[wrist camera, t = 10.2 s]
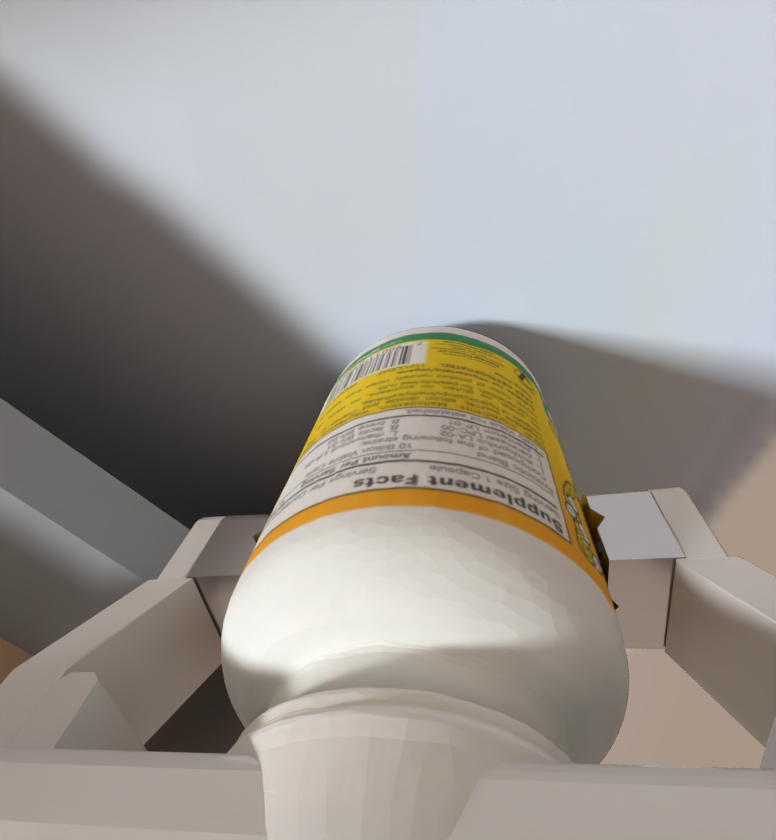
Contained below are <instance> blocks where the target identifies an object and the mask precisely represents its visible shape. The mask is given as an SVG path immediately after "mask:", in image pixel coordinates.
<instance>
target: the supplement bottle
mask: <svg viewBox="0 0 776 840" xmlns="http://www.w3.org/2000/svg"><path fill="white" fill-rule="evenodd" d="M221 663H222V669H223V675H224V681H225V685H226V688H227V692H228V695H229V698H230V700H231V703H232V705H233V708H234V710H235V712H236V714H237V716H238V717H239V719H240V721H241V722H242V724H243V726H244V727H245V730H244V731H243V732H242V734H241V735H240V737H239V739H238V740H237V742H236V743H235V744H234V746H233V747H232V748H231V749H230V750H229V751H228V753H227V754H246V755H249V756H252V757H254V758H255V759H256V760H257V761H258V762H259V763H260V765H261V769H262V775H263V789H264V802H265V825H266V830H267V834H268V838H267V840H447V839H448V838H449V836H450V835H451V833H452V831H453V830H454V828H455V826H456V824H457V822H458V820H459V818H460V816H461V814H462V812H463V810H464V808H465V806H466V804H467V802H468V800H469V798H470V795H471V793H472V791H473V789H474V787H475V785H476V783H477V781H478V779H479V778H480V777H481V776H482V775H483V774H484V773H485V772H486V770H488V769H491V768H493V767H496V766H498V765H500V764H503V763H509V762H533V763H571V764H600V763H601V761H602V760H603V759H604V758H605V756H606V755H607V753H608V752H609V750H610V749H611V747H612V745H613V744H614V741H615V739H616V737H617V735H618V733H619V731H620V728H621V725H622V722H623V719H624V715H625V711H626V706H627V701H628V690H629V670H628V660H627V655H626V650H625V646H624V641H623V636H622V632H621V629H620V625H619V622H618V619H617V615H616V612H615V609H614V606H613V602H612V599H611V596H610V593H609V590H608V586H607V583H606V580H605V577H604V574H603V571H602V568H601V565H600V562H599V558H598V555H597V552H596V549H595V546H594V543H593V541H592V537H591V534H590V531H589V528H588V525H587V522H586V519H585V516H584V513H583V510H582V507H581V503H580V500H579V497H578V494H577V492H576V489H575V486H574V483H573V480H572V477H571V475H570V472H569V469H568V466H567V462H566V459H565V457H564V454H563V450H562V447H561V445H560V441H559V438H558V434H557V431H556V428H555V425H554V422H553V419H552V417H551V414H550V411H549V409H548V406H547V404H546V402H545V399H544V397H543V394H542V392H541V389H540V387H539V385H538V383H537V381H536V379H535V378H534V376H533V374H532V373H531V371H530V370H529V369H528V367H527V366H526V365H525V364H524V362H523V361H522V360H521V359H520V358H518V357H517V356H516V355H515V354H514V353H513V352H512V351H510V350H509V349H508V348H506V347H505V346H503V345H501V344H500V343H498V342H496V341H494V340H492V339H490V338H488V337H486V336H483V335H481V334H478V333H475V332H471V331H467V330H463V329H459V328H453V327H441V326H434V327H422V328H414V329H409V330H405V331H402V332H398V333H395V334H392V335H389V336H387V337H385V338H383V339H381V340H379V341H377V342H376V343H374V344H372V345H370V346H369V347H368V348H366V349H365V350H364V351H362V352H361V353H360V354H359V355H357V356H356V357H355V358H354V359H353V360H352V361H351V362H350V363H349V365H348V366H347V367H346V368H345V370H344V371H343V372H342V374H341V375H340V376H339V378H338V380H337V381H336V383H335V385H334V387H333V388H332V390H331V392H330V394H329V396H328V398H327V399H326V401H325V404H324V406H323V409H322V411H321V413H320V415H319V417H318V419H317V421H316V423H315V425H314V427H313V429H312V432H311V434H310V436H309V438H308V440H307V442H306V444H305V446H304V448H303V450H302V452H301V454H300V457H299V459H298V461H297V463H296V465H295V467H294V469H293V471H292V473H291V475H290V477H289V479H288V481H287V483H286V485H285V487H284V489H283V491H282V493H281V495H280V497H279V499H278V501H277V503H276V505H275V507H274V509H273V511H272V513H271V515H270V517H269V519H268V521H267V523H266V525H265V527H264V529H263V531H262V533H261V535H260V537H259V539H258V541H257V543H256V545H255V547H254V549H253V551H252V553H251V555H250V558H249V560H248V562H247V564H246V566H245V568H244V570H243V572H242V574H241V576H240V578H239V581H238V583H237V585H236V587H235V590H234V592H233V594H232V596H231V598H230V601H229V605H228V608H227V612H226V615H225V618H224V623H223V629H222V636H221Z"/></svg>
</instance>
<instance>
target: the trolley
mask: <svg viewBox="0 0 776 840" xmlns="http://www.w3.org/2000/svg"><path fill="white" fill-rule="evenodd" d="M189 532H190V529H188V528H187V527H185V526H184V525H182V524H181V523H180V522H178V521H177V520H175V519H174V518H172V517H171V516H169V515H168V514H167V513H165V512H164V511H162V510H161V509H159V508H158V507H156V506H155V505H154V504H152V503H151V502H149V501H148V500H146V499H145V498H144V497H142V496H141V495H139V494H138V493H136V492H135V491H133V490H132V489H131V488H129V487H128V486H126V485H125V484H123V483H122V482H121V481H119V480H118V479H116V478H115V477H113V476H112V475H110V474H109V473H108V472H106V471H105V470H103V469H102V468H100V467H99V466H97V465H96V464H95V463H93V462H92V461H90V460H89V459H87V458H86V457H85V456H83V455H82V454H80V453H79V452H77V451H76V450H74V449H73V448H72V447H70V446H69V445H67V444H66V443H64V442H63V441H62V440H60V439H59V438H57V437H56V436H54V435H53V434H51V433H50V432H49V431H47V430H46V429H44V428H43V427H41V426H40V425H38V424H37V423H36V422H34V421H33V420H31V419H30V418H28V417H27V416H26V415H24V414H23V413H21V412H20V411H18V410H17V409H15V408H14V407H13V406H11V405H10V404H8V403H7V402H5V401H4V400H2V399H1V398H0V685H1V684H2V682H3V681H4V680H5V679H6V678H7V676H8V675H9V674H10V673H11V672H12V670H13V669H15V668H16V667H18V666H20V665H21V664H23V663H24V662H26V661H27V660H29V659H30V658H32V657H33V656H35V655H36V654H38V653H39V652H41V651H42V650H44V649H45V648H47V647H48V646H50V645H51V644H53V643H54V642H56V641H57V640H59V639H60V638H62V637H63V636H65V635H66V634H68V633H69V632H71V631H72V630H74V629H75V628H77V627H79V626H80V625H82V624H83V623H85V622H86V621H88V620H89V619H91V618H92V617H94V616H95V615H97V614H98V613H100V612H101V611H103V610H104V609H106V608H107V607H109V606H110V605H112V604H113V603H115V602H116V601H118V600H119V599H121V598H122V597H124V596H125V595H127V594H128V593H130V592H131V591H133V590H134V589H136V588H137V587H139V586H141V585H142V584H144V583H145V582H147V581H148V580H156V579H158V577H159V576H160V574H161V573H162V571H163V570H164V568H165V567H166V565H167V564H168V562H169V561H170V560H171V558H172V557H173V555H174V554H175V552H176V551H177V549H178V548H179V546H180V545H181V543H182V542H183V541H184V539H185V538H186V536H187V535H188V533H189ZM244 730H245V727H244V726H243V724H242V722H241V721H240V719H239V717H238V716H237V714H236V712H235V710H234V708H233V705H232V703H231V700H230V698H229V695H228V692H227V688H226V685H225V681H224V675H223V669H222V663H221V665H220V666H219V667H218V668H217V669H216V670H215V671H214V672H213V673H212V674H211V675H210V676H209V677H208V678H207V679H206V680H205V681H204V682H203V683H202V684H201V685H200V687H199V688H198V689H197V690H196V691H195V692H194V693H193V694H192V695H191V696H190V697H189V698H188V699H187V700H186V701H185V702H184V703H183V704H182V705H181V706H180V707H179V709H178V710H177V711H176V712H175V713H174V714H173V715H172V716H171V717H170V718H169V719H168V720H167V721H166V722H165V723H164V724H163V725H162V726H161V727H160V728H159V729H158V730H157V732H156V733H155V734H154V735H153V736H152V737H151V738H150V739H149V740H148V741H147V742H146V743H145V744H144V746H145V748H146V749H147V751H150V752H185V753H220V754H227V753H228V751H229V750H230V749H231V748H232V747H233V746H234V744H235V743H236V742H237V740H238V739H239V737H240V735H241V734H242V732H243V731H244Z"/></svg>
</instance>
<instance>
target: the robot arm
mask: <svg viewBox="0 0 776 840" xmlns="http://www.w3.org/2000/svg"><path fill="white" fill-rule="evenodd" d="M581 507H582V510H583V513H584V516H585V519H586V522H587V525H588V528H589V531H590V534H591V537H592V541H593V543H594V546H595V549H596V552H597V555H598V558H599V562H600V565H601V568H602V571H603V574H604V577H605V580H606V583H607V586H608V590H609V593H610V596H611V599H612V602H613V606H614V609H615V612H616V615H617V619H618V622H619V625H620V629H621V632H622V636H623V641H624V646H625V648H639V649H640V648H642V649H644V648H645V649H665V652H666V653H667V654H668V655H669V656H670V657H671V658H672V659H673V660H674V661H675V662H676V663H677V664H678V665H679V666H680V667H681V668H683V669H684V670H685V671H686V672H687V673H688V674H689V675H690V676H691V677H692V678H693V679H694V680H695V681H696V682H697V683H698V684H699V685H700V686H701V687H703V689H704V690H705V691H707V692H708V693H709V694H710V695H711V696H712V697H713V698H714V699H715V700H716V701H717V702H718V703H719V704H720V705H721V706H722V707H723V708H724V709H725V710H727V712H728V713H730V714H731V715H732V716H733V717H734V718H735V719H736V720H737V721H738V722H739V723H740V724H741V725H742V726H743V727H744V728H745V729H746V730H747V731H748V732H749V733H750V734H751V735H753V736H754V737H755V738H756V739H757V740H758V741H759V742H760V743H761V744H762V745H763V746H764V747H765V748H766V749H765V752H764V755H763V758H762V762H761V765H760V768H759V769H752V768H751V769H750V768H717V767H682V766H644V765H607V764H571V763H533V762H509V763H503V764H500V765H498V766H496V767H493V768H491V769H488V770H486V772H485V773H484V774H483V775H482V776H481V777H480V778H479V779H478V781H477V783H476V785H475V787H474V789H473V791H472V793H471V795H470V798H469V800H468V802H467V804H466V806H465V808H464V810H463V812H462V814H461V816H460V818H459V820H458V822H457V824H456V826H455V828H454V830H453V831H452V833H451V835H450V836H449V838H448V839H447V840H776V576H774V575H772V574H770V573H768V572H767V571H765V570H763V569H761V568H759V567H757V566H756V565H754V564H752V563H750V562H748V561H747V560H745V559H743V558H741V557H728V555H727V554H726V552H725V551H724V549H723V548H722V546H721V545H720V543H719V541H718V540H717V538H716V537H715V535H714V534H713V532H712V531H711V529H710V528H709V526H708V525H707V523H706V522H705V520H704V519H703V517H702V515H701V514H700V512H699V511H698V509H697V508H696V506H695V505H694V503H693V502H692V500H691V499H690V497H689V496H688V494H687V493H686V491H685V490H684V489H682V488H680V487H675V488H664V489H652V490H647V491H640V492H625V493H610V494H594V495H583V497H582V502H581ZM270 515H271V514H263V515H237V516H227V517H226V516H219V517H204V518H202V519H199V520H197V522H196V523H195V524H194V526H193V527H192V529H191V530H190V532H189V533H188V535H187V536H186V538H185V539H184V541H183V542H182V543H181V545H180V546H179V548H178V549H177V551H176V552H175V554H174V555H173V557H172V558H171V560H170V561H169V562H168V564H167V565H166V567H165V568H164V570H163V571H162V573H161V574H160V576H159V577H158V579H156V580H148V581H147V582H145V583H144V584H142V585H141V586H139V587H137V588H136V589H134V590H133V591H131V592H130V593H128V594H127V595H125V596H124V597H122V598H121V599H119V600H118V601H116V602H115V603H113V604H112V605H110V606H109V607H107V608H106V609H104V610H103V611H101V612H100V613H98V614H97V615H95V616H94V617H92V618H91V619H89V620H88V621H86V622H85V623H83V624H82V625H80V626H79V627H77V628H75V629H74V630H72V631H71V632H69V633H68V634H66V635H65V636H63V637H62V638H60V639H59V640H57V641H56V642H54V643H53V644H51V645H50V646H48V647H47V648H45V649H44V650H42V651H41V652H39V653H38V654H36V655H35V656H33V657H32V658H30V659H29V660H27V661H26V662H24V663H23V664H21V665H20V666H18V667H16V668H15V669H13V670H12V672H11V673H10V674H9V675H8V676H7V678H6V679H5V680H4V681H3V682H2V684H1V685H0V840H267V838H268V834H267V830H266V825H265V802H264V789H263V775H262V769H261V765H260V763H259V762H258V761H257V760H256V759H255V758H254V757H252V756H249V755H246V754H220V753H185V752H150V751H147V749H146V748H145V746H144V744H145V743H146V742H147V741H148V740H149V739H150V738H151V737H152V736H153V735H154V734H155V733H156V732H157V730H158V729H159V728H160V727H161V726H162V725H163V724H164V723H165V722H166V721H167V720H168V719H169V718H170V717H171V716H172V715H173V714H174V713H175V712H176V711H177V710H178V709H179V707H180V706H181V705H182V704H183V703H184V702H185V701H186V700H187V699H188V698H189V697H190V696H191V695H192V694H193V693H194V692H195V691H196V690H197V689H198V688H199V687H200V685H201V684H202V683H203V682H204V681H205V680H206V679H207V678H208V677H209V676H210V675H211V674H212V673H213V672H214V671H215V670H216V669H217V668H218V667H219V666H220V665H221V636H222V629H223V623H224V618H225V615H226V612H227V608H228V605H229V601H230V598H231V596H232V594H233V592H234V590H235V587H236V585H237V583H238V581H239V578H240V576H241V574H242V572H243V570H244V568H245V566H246V564H247V562H248V560H249V558H250V555H251V553H252V551H253V549H254V547H255V545H256V543H257V541H258V539H259V537H260V535H261V533H262V531H263V529H264V527H265V525H266V523H267V521H268V519H269V517H270Z"/></svg>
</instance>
